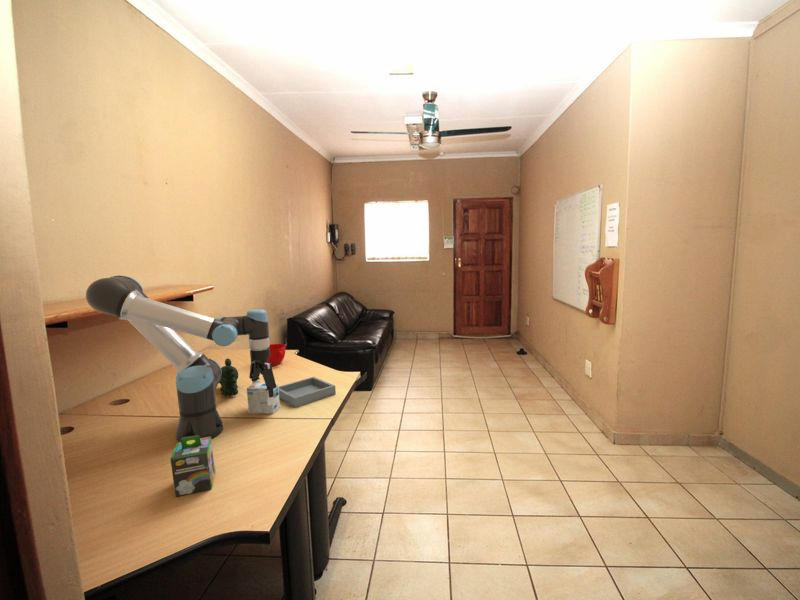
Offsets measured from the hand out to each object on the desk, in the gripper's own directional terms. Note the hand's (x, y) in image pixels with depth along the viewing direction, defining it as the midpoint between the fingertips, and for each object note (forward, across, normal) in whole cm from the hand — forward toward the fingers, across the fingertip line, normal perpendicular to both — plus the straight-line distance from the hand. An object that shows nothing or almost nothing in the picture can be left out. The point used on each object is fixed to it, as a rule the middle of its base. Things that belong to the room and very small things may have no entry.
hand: (263, 400), depth 158 cm
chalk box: (+5, -34, +36) cm, 50 cm away
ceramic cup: (+5, +56, -33) cm, 65 cm away
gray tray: (+4, +2, -20) cm, 21 cm away
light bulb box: (+5, 0, 0) cm, 5 cm away
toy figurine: (+5, +32, +2) cm, 32 cm away
